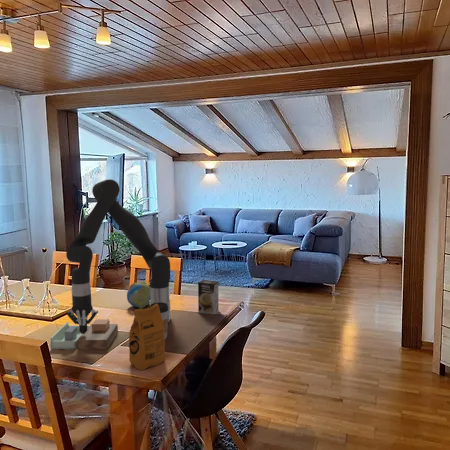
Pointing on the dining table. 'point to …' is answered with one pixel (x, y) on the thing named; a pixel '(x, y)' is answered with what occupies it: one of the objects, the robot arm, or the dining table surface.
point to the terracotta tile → (100, 325)
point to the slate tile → (71, 333)
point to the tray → (59, 339)
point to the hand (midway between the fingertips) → (83, 332)
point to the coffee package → (147, 338)
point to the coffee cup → (163, 315)
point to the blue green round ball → (139, 295)
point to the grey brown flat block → (97, 338)
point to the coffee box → (208, 297)
